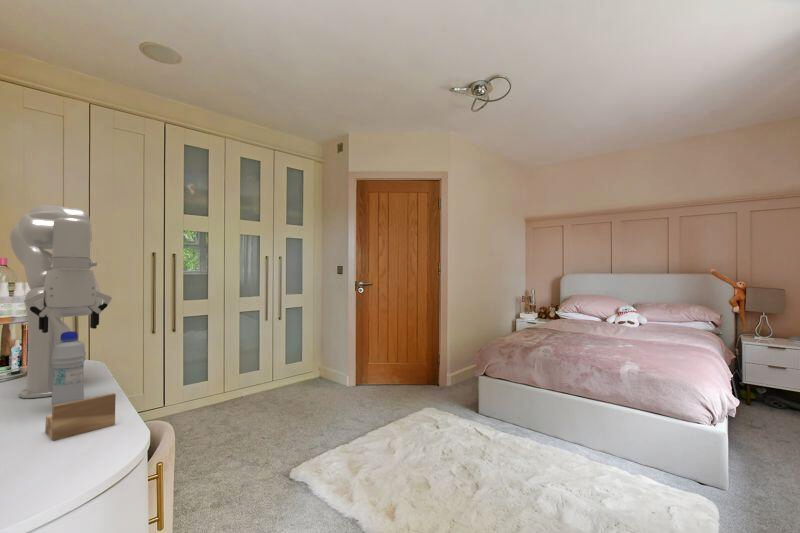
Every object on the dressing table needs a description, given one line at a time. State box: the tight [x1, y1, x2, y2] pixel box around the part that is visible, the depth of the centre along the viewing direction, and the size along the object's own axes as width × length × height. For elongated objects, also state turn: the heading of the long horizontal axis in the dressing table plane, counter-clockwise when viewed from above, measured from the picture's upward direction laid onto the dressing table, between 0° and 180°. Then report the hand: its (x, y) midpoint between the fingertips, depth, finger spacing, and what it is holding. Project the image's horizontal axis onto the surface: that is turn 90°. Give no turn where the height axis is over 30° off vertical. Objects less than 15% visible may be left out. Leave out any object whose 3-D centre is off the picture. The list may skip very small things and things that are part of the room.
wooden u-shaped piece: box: [44, 392, 117, 441], centre depth 83 cm, size 8×11×7 cm
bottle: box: [51, 330, 87, 407], centre depth 97 cm, size 7×7×20 cm
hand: (70, 330), depth 97 cm, fingers open, 9 cm apart
